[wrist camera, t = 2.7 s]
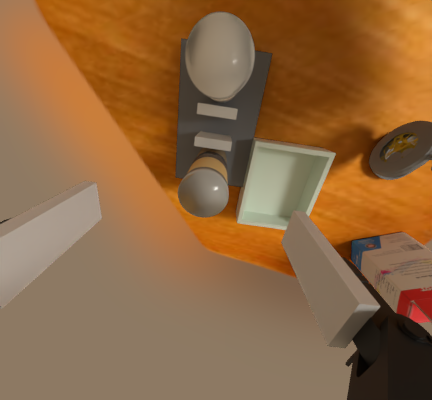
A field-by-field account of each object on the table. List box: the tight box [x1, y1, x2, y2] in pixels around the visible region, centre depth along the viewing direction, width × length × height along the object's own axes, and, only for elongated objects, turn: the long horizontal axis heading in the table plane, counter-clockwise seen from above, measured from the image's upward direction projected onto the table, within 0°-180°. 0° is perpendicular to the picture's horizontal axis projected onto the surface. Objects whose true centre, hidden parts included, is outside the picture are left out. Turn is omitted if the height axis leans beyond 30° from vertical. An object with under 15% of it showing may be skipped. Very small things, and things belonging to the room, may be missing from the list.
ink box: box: [351, 232, 432, 323], centre depth 26 cm, size 8×5×15 cm, turn 105°
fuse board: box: [176, 38, 272, 187], centre depth 22 cm, size 16×10×6 cm, turn 172°
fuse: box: [185, 12, 255, 103], centre depth 16 cm, size 4×4×12 cm
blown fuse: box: [178, 147, 229, 217], centre depth 20 cm, size 4×4×12 cm
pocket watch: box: [369, 121, 432, 180], centre depth 21 cm, size 8×8×10 cm
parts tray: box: [236, 137, 336, 230], centre depth 27 cm, size 12×10×4 cm
